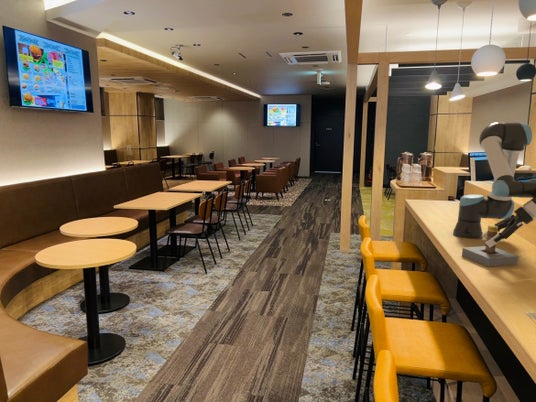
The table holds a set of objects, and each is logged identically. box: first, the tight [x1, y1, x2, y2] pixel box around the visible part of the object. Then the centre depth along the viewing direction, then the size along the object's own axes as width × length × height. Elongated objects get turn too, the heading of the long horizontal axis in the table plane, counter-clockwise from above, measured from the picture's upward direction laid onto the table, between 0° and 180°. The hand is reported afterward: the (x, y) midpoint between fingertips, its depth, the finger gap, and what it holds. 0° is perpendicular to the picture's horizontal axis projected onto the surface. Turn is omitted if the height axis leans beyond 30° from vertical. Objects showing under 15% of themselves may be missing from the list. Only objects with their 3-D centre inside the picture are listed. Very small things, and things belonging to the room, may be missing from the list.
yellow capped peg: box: [485, 225, 499, 254], centre depth 179 cm, size 4×4×16 cm
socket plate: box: [461, 245, 520, 268], centre depth 180 cm, size 16×16×4 cm
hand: (485, 241), depth 180 cm, fingers open, 13 cm apart
